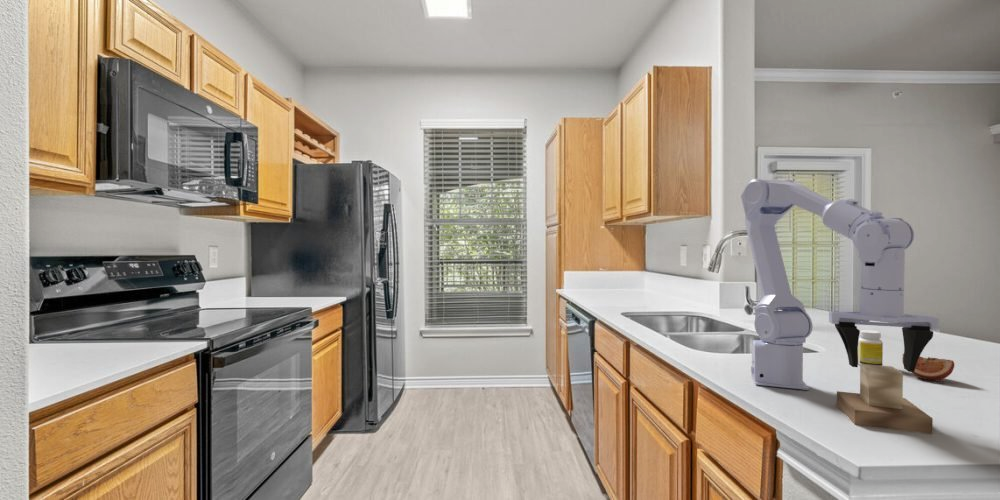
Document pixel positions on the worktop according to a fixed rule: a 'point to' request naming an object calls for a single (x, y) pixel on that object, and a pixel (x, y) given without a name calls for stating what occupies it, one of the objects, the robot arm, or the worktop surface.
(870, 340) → the supplement bottle
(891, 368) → the birch block
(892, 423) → the walnut block
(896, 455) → the worktop surface
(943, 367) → the fruit slice
